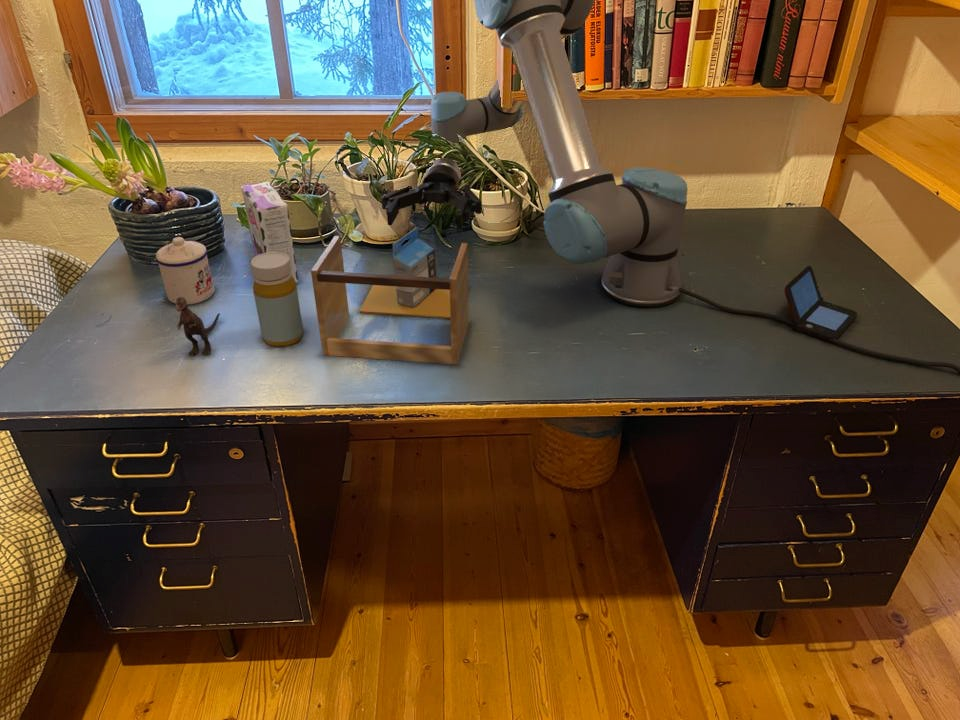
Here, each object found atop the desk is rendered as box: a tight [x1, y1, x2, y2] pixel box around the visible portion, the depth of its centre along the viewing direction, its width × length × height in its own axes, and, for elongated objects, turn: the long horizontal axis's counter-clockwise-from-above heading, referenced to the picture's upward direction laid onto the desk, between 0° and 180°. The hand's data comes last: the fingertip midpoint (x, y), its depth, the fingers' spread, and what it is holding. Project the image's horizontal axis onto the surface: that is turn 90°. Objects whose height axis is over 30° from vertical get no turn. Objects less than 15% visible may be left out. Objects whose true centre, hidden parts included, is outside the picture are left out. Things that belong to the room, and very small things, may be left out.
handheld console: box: [783, 265, 858, 342], centre depth 132 cm, size 12×11×7 cm
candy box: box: [240, 180, 299, 284], centre depth 145 cm, size 14×6×16 cm, turn 27°
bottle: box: [250, 252, 304, 348], centre depth 125 cm, size 7×7×15 cm
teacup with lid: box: [155, 236, 215, 306], centre depth 140 cm, size 12×9×12 cm
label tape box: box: [392, 226, 437, 308], centre depth 137 cm, size 9×4×12 cm, turn 153°
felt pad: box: [359, 285, 451, 320], centre depth 140 cm, size 18×12×1 cm, turn 83°
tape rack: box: [310, 235, 469, 366], centre depth 124 cm, size 23×13×16 cm, turn 83°
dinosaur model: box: [175, 297, 221, 357], centre depth 125 cm, size 4×12×15 cm
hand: (424, 220), depth 141 cm, fingers open, 13 cm apart
